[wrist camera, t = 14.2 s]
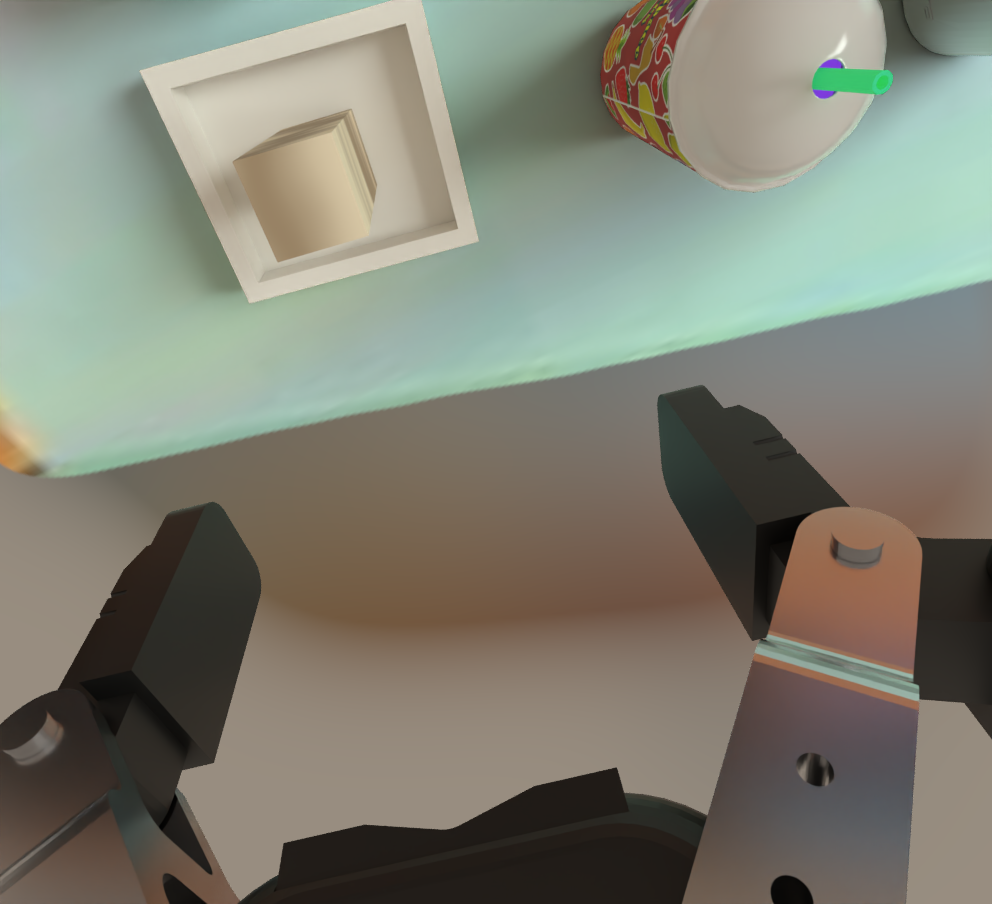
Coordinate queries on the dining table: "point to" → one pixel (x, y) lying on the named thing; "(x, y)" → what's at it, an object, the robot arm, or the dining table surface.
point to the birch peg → (310, 185)
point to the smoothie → (745, 82)
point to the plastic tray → (312, 95)
